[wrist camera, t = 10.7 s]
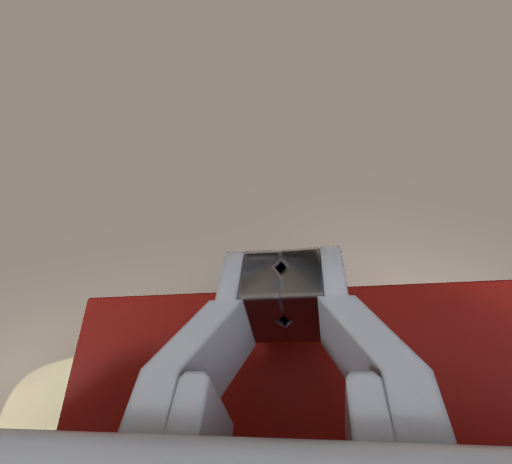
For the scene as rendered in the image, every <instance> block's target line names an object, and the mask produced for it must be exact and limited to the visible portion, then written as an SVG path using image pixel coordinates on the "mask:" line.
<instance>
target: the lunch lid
mask: <svg viewBox="0 0 512 464" xmlns="http://www.w3.org/2000/svg"><path fill="white" fill-rule="evenodd" d="M347 288H348V294H349V295H355V296H357V297H358V298H359V299H360V300H361V301H362V302H363V303H364V304H365V305H366V306H367V307H368V308H369V309H370V310H371V311H372V312H373V313H374V314H375V315H376V316H377V317H378V318H379V319H380V320H381V321H382V322H383V323H385V324H386V325H387V326H388V327H389V328H390V329H391V330H392V331H393V332H394V333H395V334H396V335H397V336H398V337H399V338H400V339H401V340H402V341H403V342H404V343H405V344H406V345H407V346H408V347H409V348H410V349H411V350H413V351H414V352H415V353H416V354H417V355H418V356H419V357H420V358H421V359H422V360H423V361H424V362H425V363H426V364H427V365H428V366H429V367H430V368H431V369H432V370H433V372H434V375H435V378H436V381H437V384H438V387H439V390H440V393H441V396H442V399H443V402H444V405H445V408H446V411H447V414H448V417H449V420H450V423H451V426H452V429H453V432H454V435H455V438H456V441H457V444H462V445H491V446H512V280H496V281H475V282H474V281H473V282H450V283H427V284H405V285H381V286H358V287H347ZM215 297H216V293H196V294H173V295H150V296H129V297H128V296H126V297H105V298H90V299H88V302H87V306H86V310H85V314H84V318H83V323H82V327H81V331H80V335H79V339H78V343H77V348H76V352H75V356H74V360H73V364H72V368H71V373H70V377H69V381H68V385H67V389H66V393H65V398H64V402H63V406H62V410H61V414H60V418H59V423H58V427H57V430H59V431H88V432H118V429H119V426H120V424H121V421H122V418H123V416H124V413H125V410H126V407H127V405H128V402H129V399H130V397H131V394H132V391H133V388H134V386H135V383H136V380H137V378H138V375H139V372H140V369H141V368H142V367H143V366H144V365H145V364H146V363H147V362H148V361H149V360H150V359H151V358H152V357H153V356H154V355H155V354H156V353H157V352H158V351H159V350H160V349H161V348H162V347H163V346H164V345H165V344H166V343H167V342H168V341H169V340H170V339H171V338H172V337H173V336H174V335H175V334H176V333H177V332H178V331H179V330H180V329H181V328H182V327H183V326H184V325H185V324H186V323H187V322H188V321H189V320H190V319H191V318H192V317H193V316H194V315H195V314H196V313H197V312H198V311H199V310H200V309H201V308H202V307H203V306H204V305H205V304H206V303H207V302H208V301H209V300H215ZM345 388H346V379H345V378H344V376H343V375H342V373H341V372H340V371H339V369H338V368H337V366H336V365H335V363H334V362H333V360H332V359H331V358H330V356H329V355H328V353H327V352H326V350H325V349H324V347H323V346H322V345H321V342H268V343H256V346H255V347H254V349H253V350H252V352H251V353H250V355H249V356H248V358H247V359H246V361H245V362H244V364H243V365H242V367H241V368H240V370H239V371H238V373H237V374H236V376H235V377H234V379H233V380H232V382H231V383H230V385H229V386H228V388H227V389H226V391H225V392H224V394H223V395H222V397H221V400H222V402H223V404H224V406H225V408H226V410H227V412H228V414H229V416H230V418H231V420H232V422H233V424H234V426H233V435H232V436H233V437H262V438H290V439H319V440H346V435H345Z"/></svg>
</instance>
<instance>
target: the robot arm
mask: <svg viewBox="0 0 512 464" xmlns="http://www.w3.org/2000/svg"><path fill="white" fill-rule="evenodd" d="M268 342H321V345H322V346H323V347H324V349H325V350H326V352H327V353H328V355H329V356H330V358H331V359H332V360H333V362H334V363H335V365H336V366H337V368H338V369H339V371H340V372H341V373H342V375H343V376H344V378H345V379H346V388H345V435H346V440H319V439H290V438H262V437H233V436H232V435H233V426H234V424H233V422H232V420H231V418H230V416H229V414H228V412H227V410H226V408H225V406H224V404H223V402H222V400H221V397H222V395H223V394H224V392H225V391H226V389H227V388H228V386H229V385H230V383H231V382H232V380H233V379H234V377H235V376H236V374H237V373H238V371H239V370H240V368H241V367H242V365H243V364H244V362H245V361H246V359H247V358H248V356H249V355H250V353H251V352H252V350H253V349H254V347H255V346H256V343H268ZM0 464H512V446H491V445H462V444H457V441H456V438H455V435H454V432H453V429H452V426H451V423H450V420H449V417H448V414H447V411H446V408H445V405H444V402H443V399H442V396H441V393H440V390H439V387H438V384H437V381H436V378H435V375H434V372H433V370H432V369H431V368H430V367H429V366H428V365H427V364H426V363H425V362H424V361H423V360H422V359H421V358H420V357H419V356H418V355H417V354H416V353H415V352H414V351H413V350H411V349H410V348H409V347H408V346H407V345H406V344H405V343H404V342H403V341H402V340H401V339H400V338H399V337H398V336H397V335H396V334H395V333H394V332H393V331H392V330H391V329H390V328H389V327H388V326H387V325H386V324H385V323H383V322H382V321H381V320H380V319H379V318H378V317H377V316H376V315H375V314H374V313H373V312H372V311H371V310H370V309H369V308H368V307H367V306H366V305H365V304H364V303H363V302H362V301H361V300H360V299H359V298H358V297H357V296H355V295H349V294H348V288H347V282H346V276H345V271H344V264H343V259H342V252H341V248H340V246H327V247H320V249H319V247H316V248H315V247H314V248H300V249H287V250H269V251H268V250H267V251H246V252H227V254H226V256H225V258H224V262H223V266H222V271H221V275H220V280H219V284H218V288H217V293H216V297H215V300H209V301H208V302H207V303H206V304H205V305H204V306H203V307H202V308H201V309H200V310H199V311H198V312H197V313H196V314H195V315H194V316H193V317H192V318H191V319H190V320H189V321H188V322H187V323H186V324H185V325H184V326H183V327H182V328H181V329H180V330H179V331H178V332H177V333H176V334H175V335H174V336H173V337H172V338H171V339H170V340H169V341H168V342H167V343H166V344H165V345H164V346H163V347H162V348H161V349H160V350H159V351H158V352H157V353H156V354H155V355H154V356H153V357H152V358H151V359H150V360H149V361H148V362H147V363H146V364H145V365H144V366H143V367H142V368H141V369H140V372H139V375H138V378H137V380H136V383H135V386H134V388H133V391H132V394H131V397H130V399H129V402H128V405H127V407H126V410H125V413H124V416H123V418H122V421H121V424H120V426H119V429H118V432H88V431H59V430H30V429H1V428H0Z"/></svg>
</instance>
